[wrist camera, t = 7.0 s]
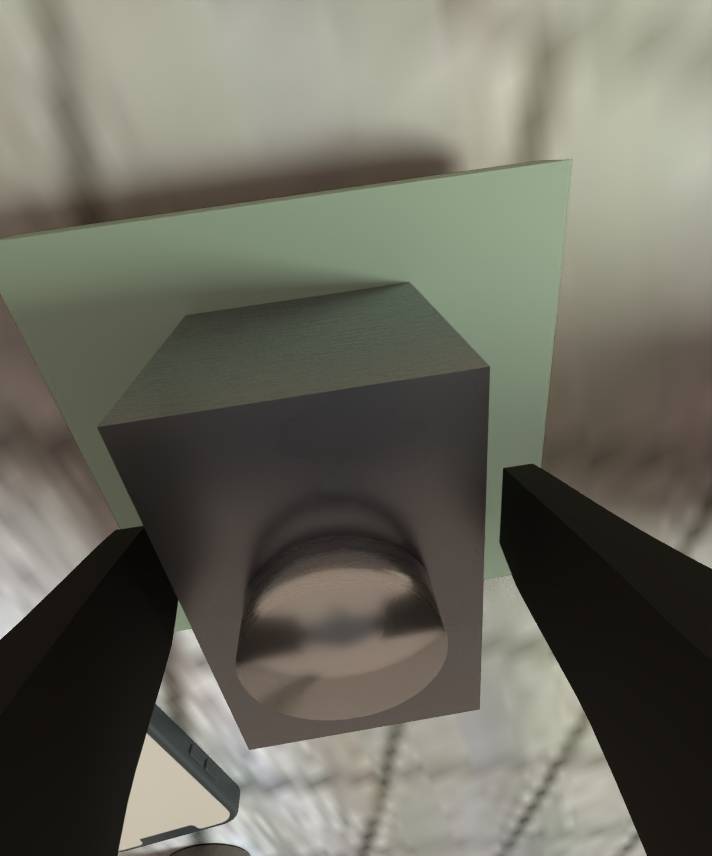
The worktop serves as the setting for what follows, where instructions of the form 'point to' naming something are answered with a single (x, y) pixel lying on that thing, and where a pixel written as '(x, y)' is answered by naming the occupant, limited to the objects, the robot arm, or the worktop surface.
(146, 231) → the stand
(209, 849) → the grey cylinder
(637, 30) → the worktop surface
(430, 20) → the worktop surface
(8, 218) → the worktop surface
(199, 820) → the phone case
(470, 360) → the housing
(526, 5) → the worktop surface
